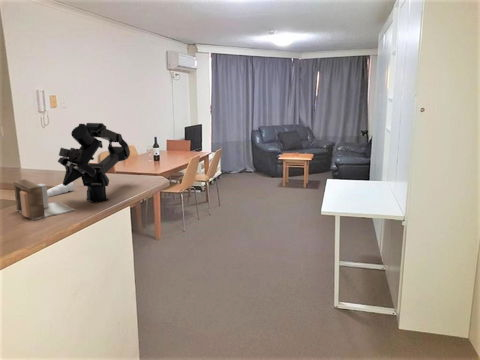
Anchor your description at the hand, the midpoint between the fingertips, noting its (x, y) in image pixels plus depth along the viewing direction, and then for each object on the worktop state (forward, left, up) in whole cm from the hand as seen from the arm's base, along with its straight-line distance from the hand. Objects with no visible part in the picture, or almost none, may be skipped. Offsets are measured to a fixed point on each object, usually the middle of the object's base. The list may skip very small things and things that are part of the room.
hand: (63, 185), depth 145 cm
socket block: (+7, -1, -9) cm, 11 cm away
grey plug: (+8, -5, -8) cm, 12 cm away
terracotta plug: (+12, +2, -8) cm, 15 cm away
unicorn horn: (-3, -21, -9) cm, 23 cm away
